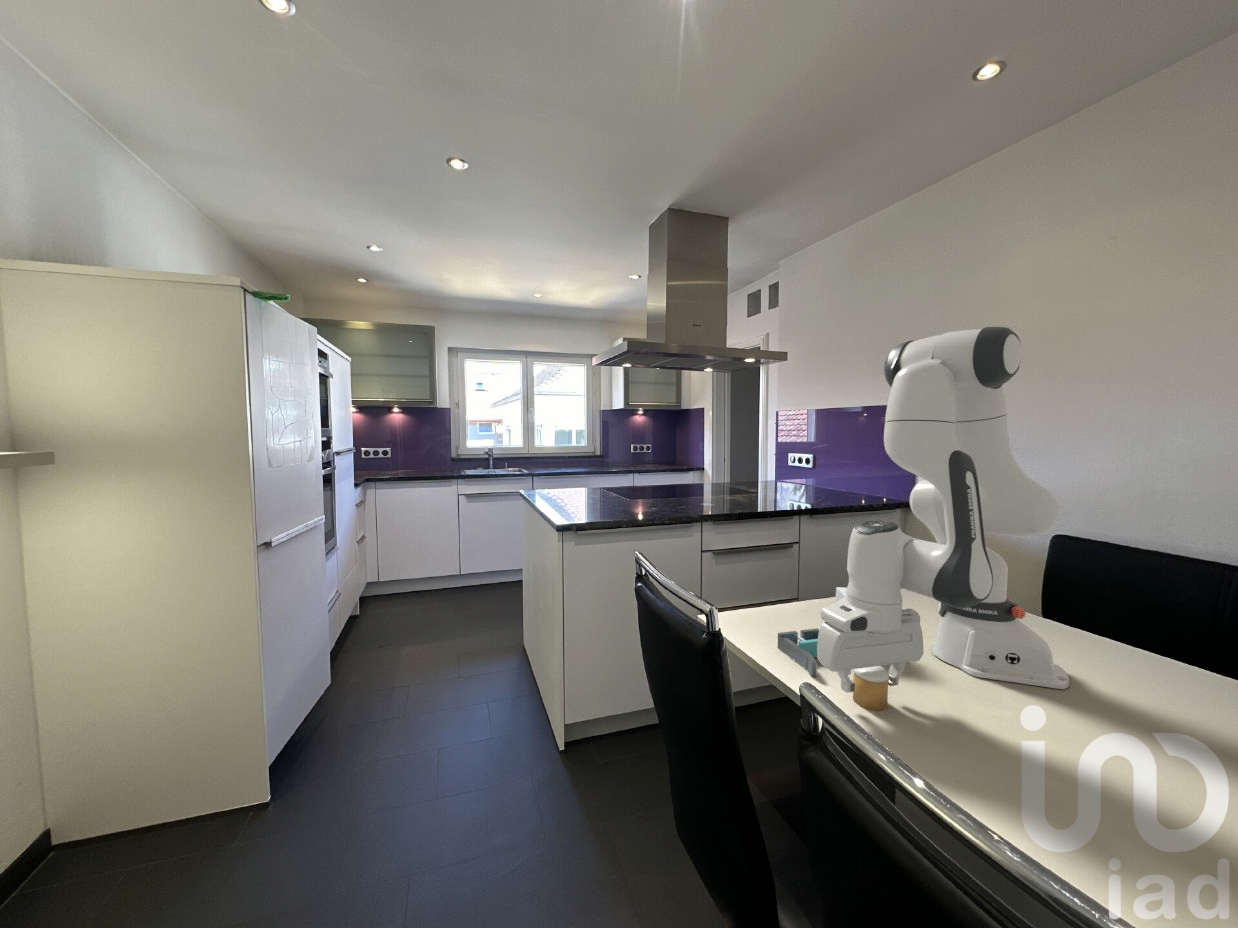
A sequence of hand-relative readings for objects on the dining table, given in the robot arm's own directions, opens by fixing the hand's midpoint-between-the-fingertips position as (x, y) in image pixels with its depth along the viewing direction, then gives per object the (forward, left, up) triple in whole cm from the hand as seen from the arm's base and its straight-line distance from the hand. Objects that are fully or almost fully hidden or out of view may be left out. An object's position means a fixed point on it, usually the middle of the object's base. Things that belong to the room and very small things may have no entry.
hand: (869, 687), depth 84 cm
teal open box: (+13, -16, -3) cm, 21 cm away
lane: (+11, -13, -3) cm, 17 cm away
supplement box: (+4, -24, -3) cm, 25 cm away
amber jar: (0, 0, -3) cm, 3 cm away
